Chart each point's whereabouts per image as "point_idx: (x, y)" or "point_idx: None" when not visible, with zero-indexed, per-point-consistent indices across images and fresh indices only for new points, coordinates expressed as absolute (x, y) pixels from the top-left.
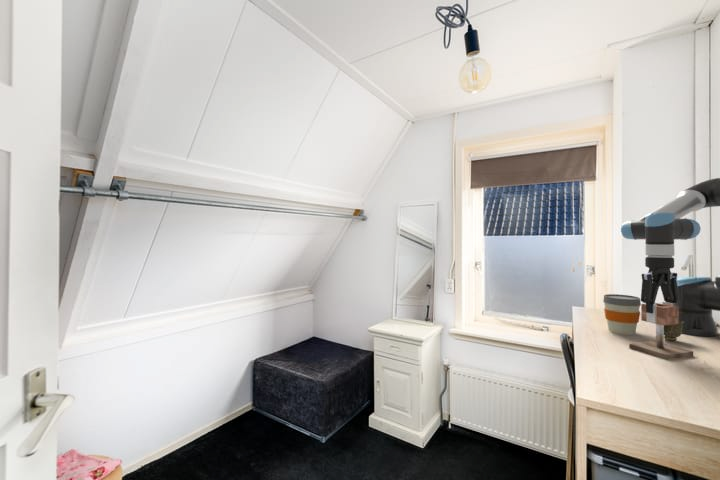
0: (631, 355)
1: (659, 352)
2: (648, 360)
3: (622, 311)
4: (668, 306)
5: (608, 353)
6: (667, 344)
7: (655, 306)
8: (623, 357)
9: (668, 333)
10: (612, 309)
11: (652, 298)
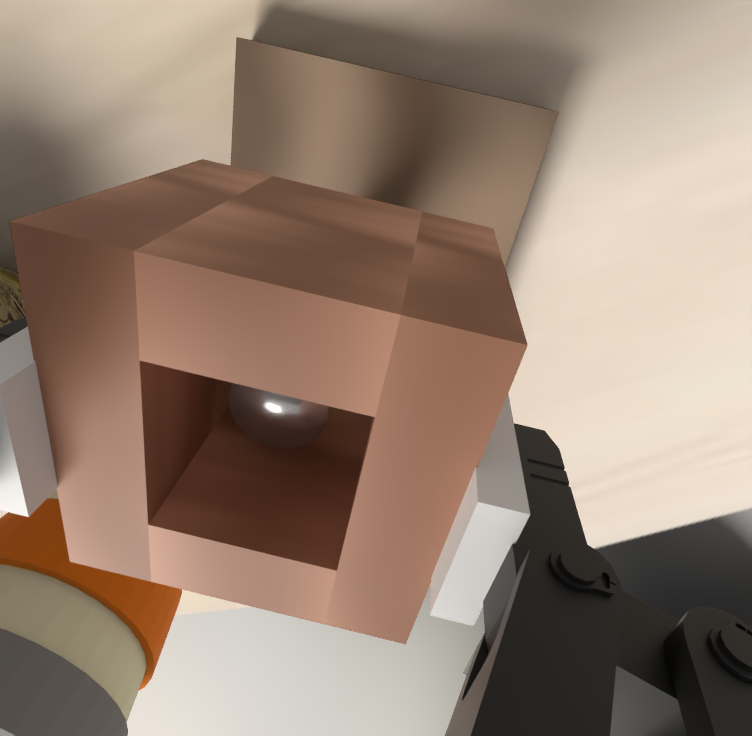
0: (644, 298)
1: (528, 180)
2: (686, 185)
3: (113, 623)
4: (228, 348)
5: (719, 391)
6: None
7: (511, 478)
8: (747, 308)
9: (19, 313)
10: (140, 670)
11: (606, 697)
